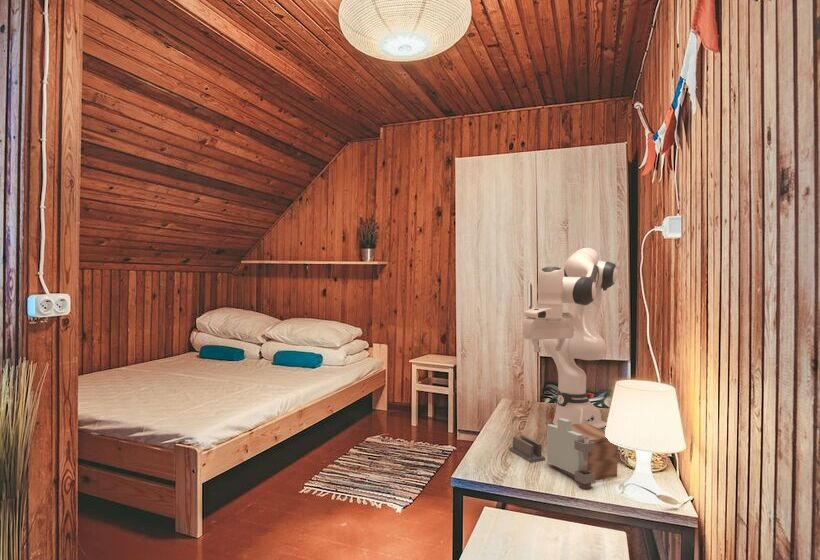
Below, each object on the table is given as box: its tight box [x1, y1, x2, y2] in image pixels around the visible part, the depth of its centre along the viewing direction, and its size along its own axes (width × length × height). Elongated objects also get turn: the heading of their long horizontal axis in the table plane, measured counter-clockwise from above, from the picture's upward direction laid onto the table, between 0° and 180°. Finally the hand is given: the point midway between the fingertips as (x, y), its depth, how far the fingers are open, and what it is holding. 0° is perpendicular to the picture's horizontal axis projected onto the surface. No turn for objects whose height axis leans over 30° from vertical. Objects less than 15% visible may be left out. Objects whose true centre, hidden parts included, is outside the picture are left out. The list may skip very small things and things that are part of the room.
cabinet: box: [572, 423, 619, 490], centre depth 153 cm, size 16×17×15 cm
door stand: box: [508, 434, 546, 464], centre depth 167 cm, size 6×12×6 cm, turn 24°
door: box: [546, 418, 596, 484], centre depth 151 cm, size 4×18×16 cm, turn 24°
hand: (548, 351), depth 173 cm, fingers open, 8 cm apart
